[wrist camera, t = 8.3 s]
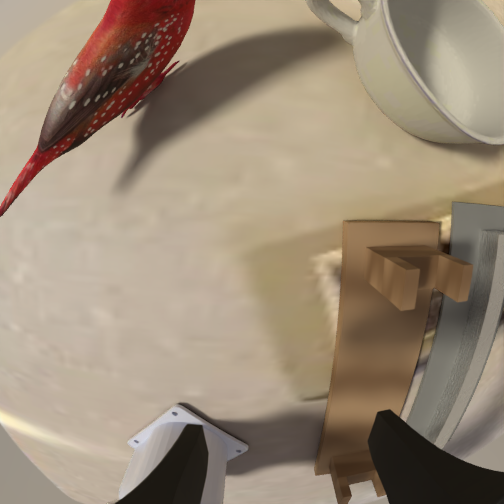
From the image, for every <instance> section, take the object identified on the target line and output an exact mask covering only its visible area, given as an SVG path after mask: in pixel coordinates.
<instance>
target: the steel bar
mask: <svg viewBox="0 0 504 504" xmlns="http://www.w3.org/2000/svg"><path fill="white" fill-rule="evenodd" d="M503 298H504V232H501V231H497V230H481V237H480V247H479V256H478V264H477V271H476V277H475V283H474V289H473V294H472V299H471V304H470V309H469V313H468V317H467V321H466V325H465V329H464V333H463V337H462V340H461V344H460V347H459V350H458V353H457V357H456V360H455V363H454V366H453V369H452V371H451V374H450V377H449V380H448V382H447V385H446V388H445V390H444V393H443V395H442V398H441V400H440V402H439V405H438V407H437V409H436V412H435V414H434V416H433V418H432V420H431V422H430V424H429V427H428V429H427V431H426V433H425V435H424V436H423V437H424V438H425V439H427V440H428V441H430V442H431V443H433V444H434V445H436V446H437V447H439V448H440V449H443V448H444V446H445V444H446V443H447V441H448V439H449V438H450V436H451V434H452V432H453V430H454V429H455V427H456V425H457V423H458V421H459V419H460V417H461V415H462V413H463V411H464V409H465V407H466V405H467V403H468V401H469V399H470V397H471V395H472V392H473V390H474V388H475V385H476V383H477V381H478V378H479V376H480V373H481V371H482V368H483V365H484V363H485V360H486V357H487V354H488V352H489V349H490V346H491V342H492V339H493V336H494V333H495V329H496V326H497V322H498V319H499V315H500V311H501V307H502V303H503Z"/></svg>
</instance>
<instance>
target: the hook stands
mask: <svg viewBox="0 0 504 504" xmlns="http://www.w3.org/2000/svg"><path fill="white" fill-rule="evenodd" d="M438 237H439V223H436V222H431V221H343V246H342V270H341V288H340V302H339V314H338V325H337V335H336V344H335V353H334V361H333V368H332V376H331V383H330V389H329V396H328V402H327V408H326V414H325V419H324V425H323V430H322V435H321V440H320V445H319V449H318V454H317V459H316V463H315V467H314V471H315V476H317V475H324V474H330V473H331V477H332V481H333V485H334V489H335V494H336V498H337V502H338V504H348V502H349V500H350V498H351V497H352V495H351V491H350V487H349V485H350V484H355V483H359V482H364V481H368V480H372V482H373V485H374V488H375V491H376V493H377V496H378V497H380V496H384V495H386V493H385V490H384V488H383V485H382V483H381V481H380V478H379V476H378V473H377V471H376V468H375V466H374V464H373V461H372V458H371V454H370V450H369V446H368V442H367V441H368V438H369V435H370V432H371V429H372V426H373V424H374V421H375V417H376V414H377V412H379V411H383V410H388V409H390V410H392V411H393V412H394V413H395V414H396V415H398V416H399V415H400V412H401V410H402V407H403V404H404V401H405V398H406V396H407V393H408V390H409V387H410V383H411V380H412V377H413V374H414V370H415V367H416V363H417V360H418V356H419V352H420V348H421V344H422V340H423V336H424V332H425V327H426V323H427V318H428V313H429V307H430V302H431V296H432V290H433V288H435V289H437V290H439V291H440V292H442V293H443V294H445V295H447V296H448V297H450V298H451V299H453V300H455V301H456V302H463V301H467V300H468V295H469V290H470V284H471V278H472V272H473V264H470V263H468V262H466V261H463V260H461V259H458V258H456V257H453V256H451V255H448V254H446V253H443V252H441V251H438V250H437V249H438Z"/></svg>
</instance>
